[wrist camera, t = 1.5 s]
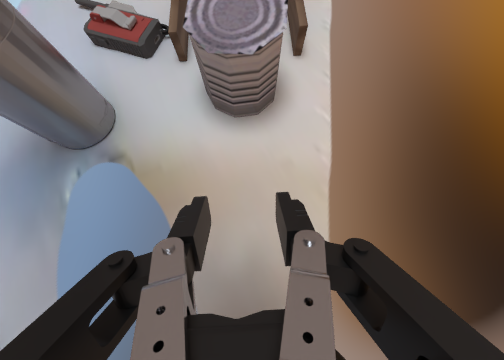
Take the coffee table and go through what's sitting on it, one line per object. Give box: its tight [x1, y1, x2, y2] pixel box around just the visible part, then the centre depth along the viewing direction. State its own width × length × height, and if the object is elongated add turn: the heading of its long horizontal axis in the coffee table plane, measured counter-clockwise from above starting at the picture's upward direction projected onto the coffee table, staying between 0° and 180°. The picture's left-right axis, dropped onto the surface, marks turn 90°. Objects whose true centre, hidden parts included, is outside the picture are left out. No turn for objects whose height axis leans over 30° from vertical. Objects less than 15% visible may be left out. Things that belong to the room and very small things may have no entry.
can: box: [183, 0, 288, 117], centre depth 28 cm, size 11×11×12 cm
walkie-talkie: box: [75, 0, 169, 59], centre depth 36 cm, size 9×4×20 cm
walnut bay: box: [168, 0, 308, 61], centre depth 36 cm, size 21×17×5 cm
